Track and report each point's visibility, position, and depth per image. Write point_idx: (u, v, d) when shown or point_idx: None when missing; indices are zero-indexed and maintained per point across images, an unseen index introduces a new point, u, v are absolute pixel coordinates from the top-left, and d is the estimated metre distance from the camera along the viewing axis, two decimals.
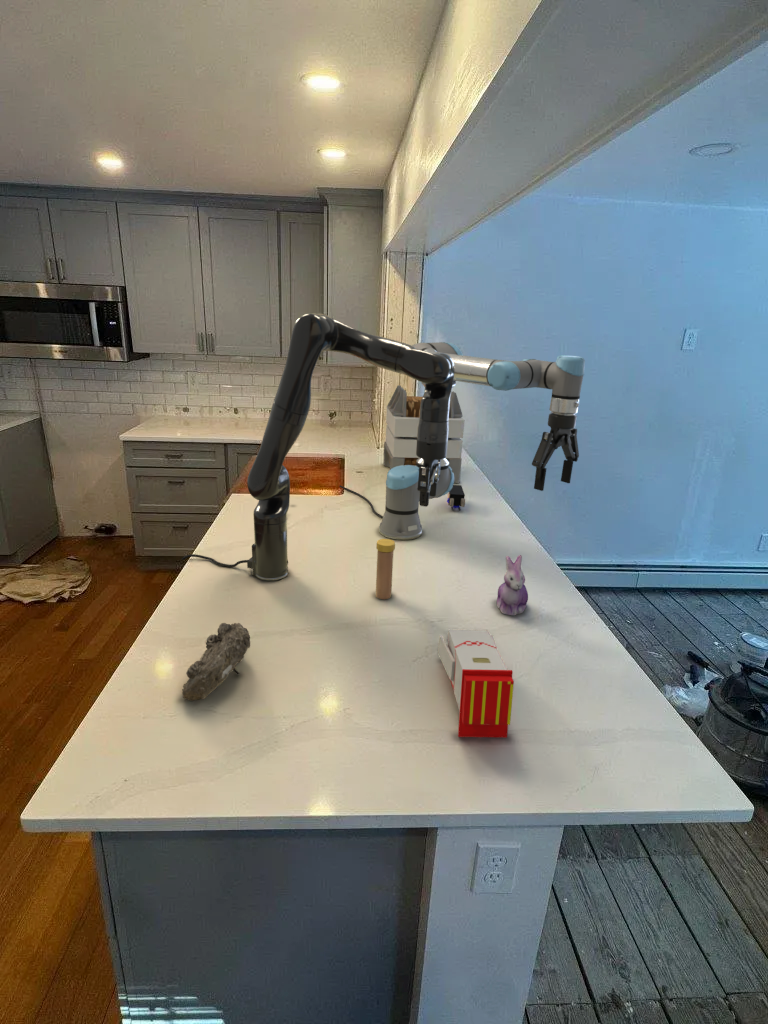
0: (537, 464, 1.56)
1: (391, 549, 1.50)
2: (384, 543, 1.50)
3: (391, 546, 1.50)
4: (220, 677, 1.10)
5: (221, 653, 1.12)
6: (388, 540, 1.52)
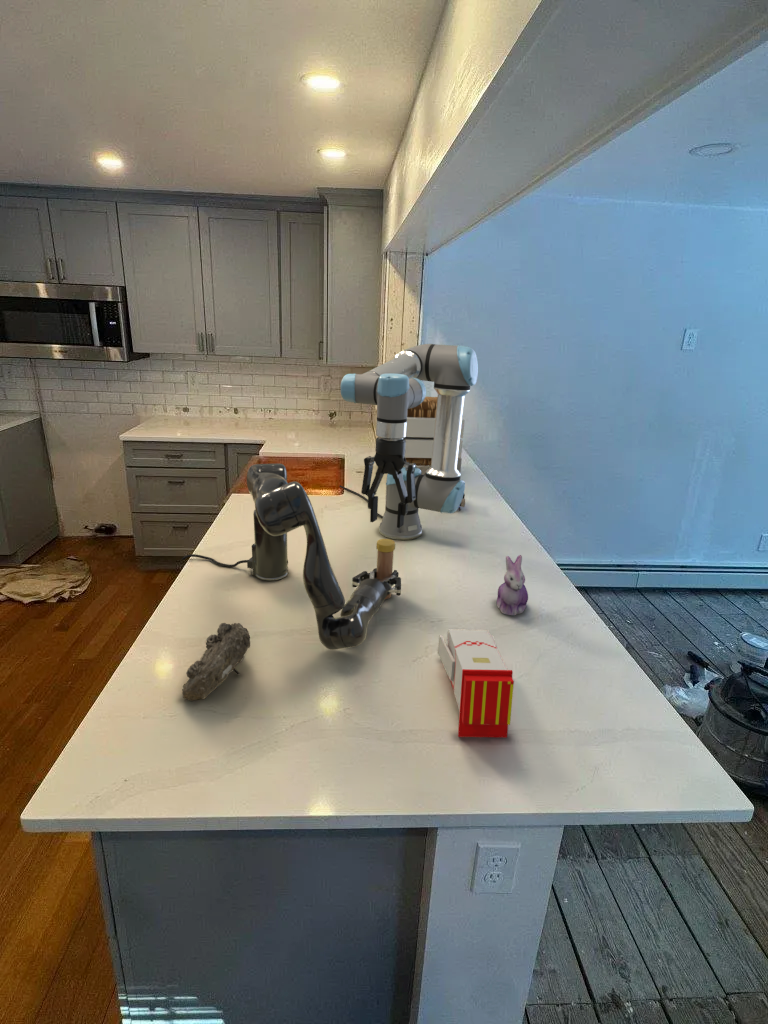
0: (414, 498, 1.44)
1: (391, 549, 1.50)
2: (384, 543, 1.50)
3: (391, 546, 1.50)
4: (220, 677, 1.10)
5: (221, 653, 1.12)
6: (388, 540, 1.52)
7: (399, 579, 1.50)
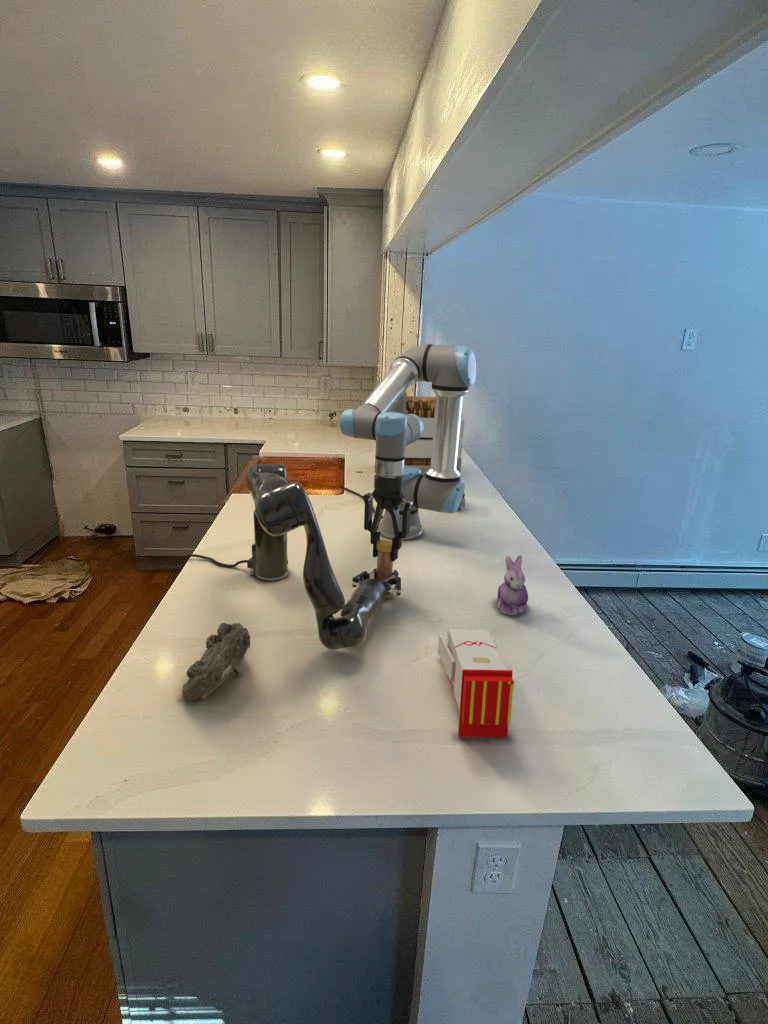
0: (408, 533, 1.48)
1: (391, 549, 1.50)
2: (384, 543, 1.50)
3: (391, 546, 1.50)
4: (220, 677, 1.10)
5: (221, 653, 1.12)
6: (388, 540, 1.52)
7: (399, 579, 1.50)
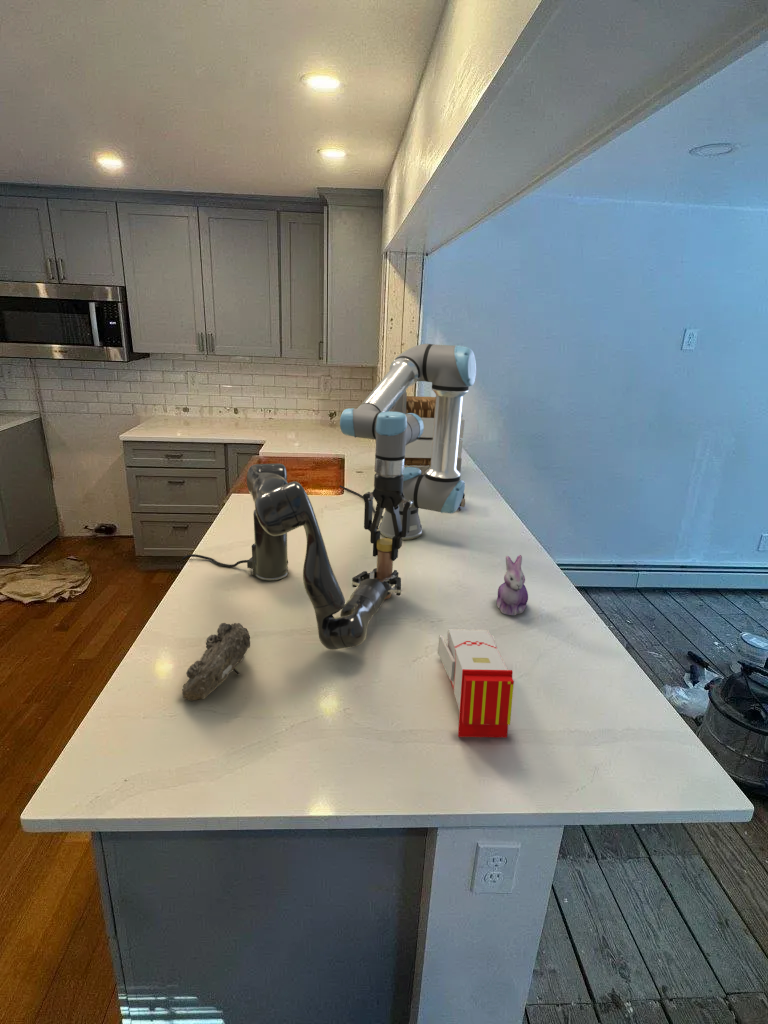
0: (408, 532, 1.48)
1: None
2: (389, 542, 1.51)
3: None
4: (220, 677, 1.10)
5: (221, 653, 1.12)
6: (381, 540, 1.52)
7: (398, 579, 1.50)
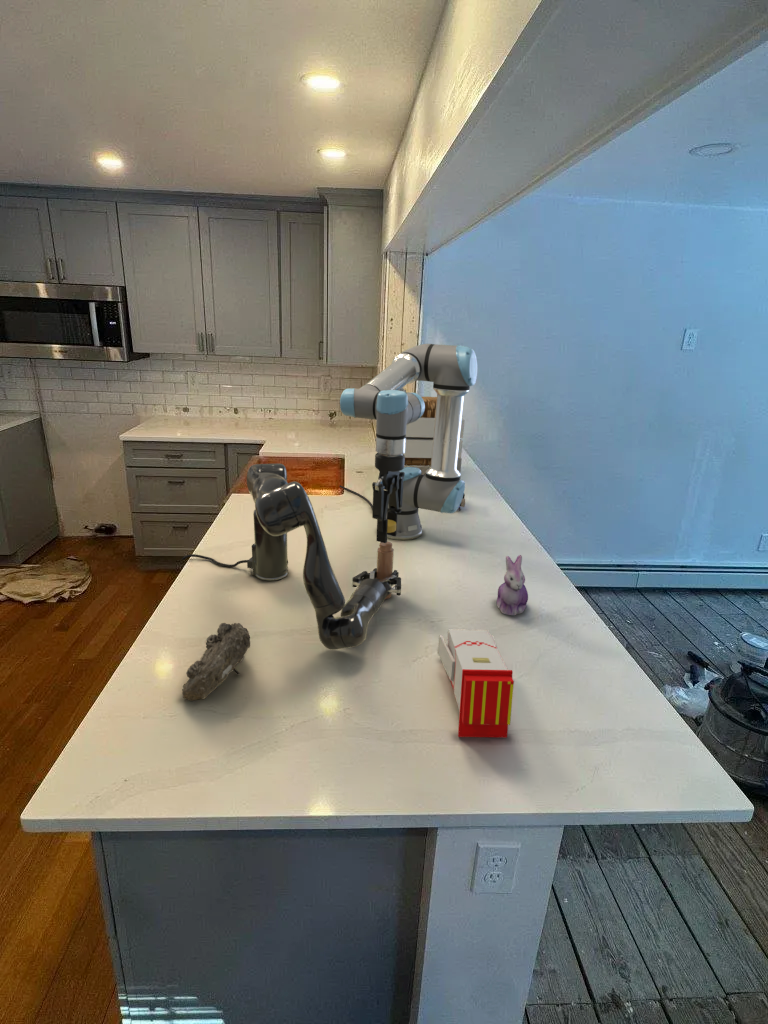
0: None
1: None
2: (389, 521, 1.50)
3: None
4: (220, 677, 1.10)
5: (221, 653, 1.12)
6: None
7: (399, 579, 1.50)
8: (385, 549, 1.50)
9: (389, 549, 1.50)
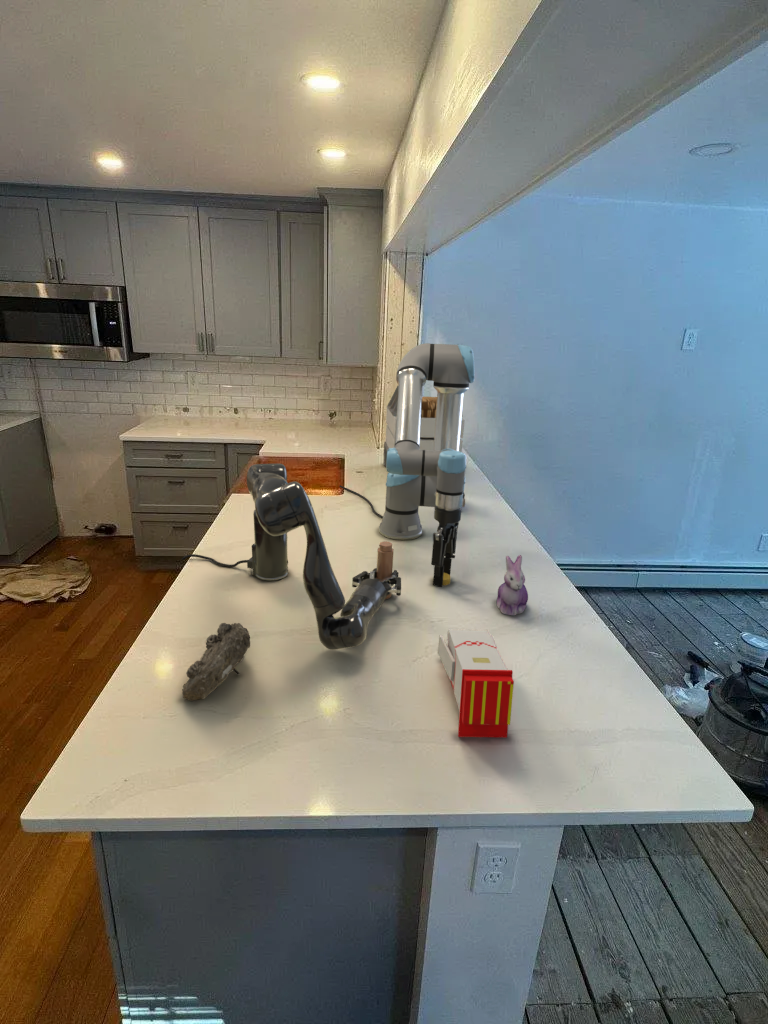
0: None
1: None
2: None
3: None
4: (220, 677, 1.10)
5: (221, 653, 1.12)
6: None
7: (399, 579, 1.50)
8: (385, 549, 1.50)
9: (389, 549, 1.50)
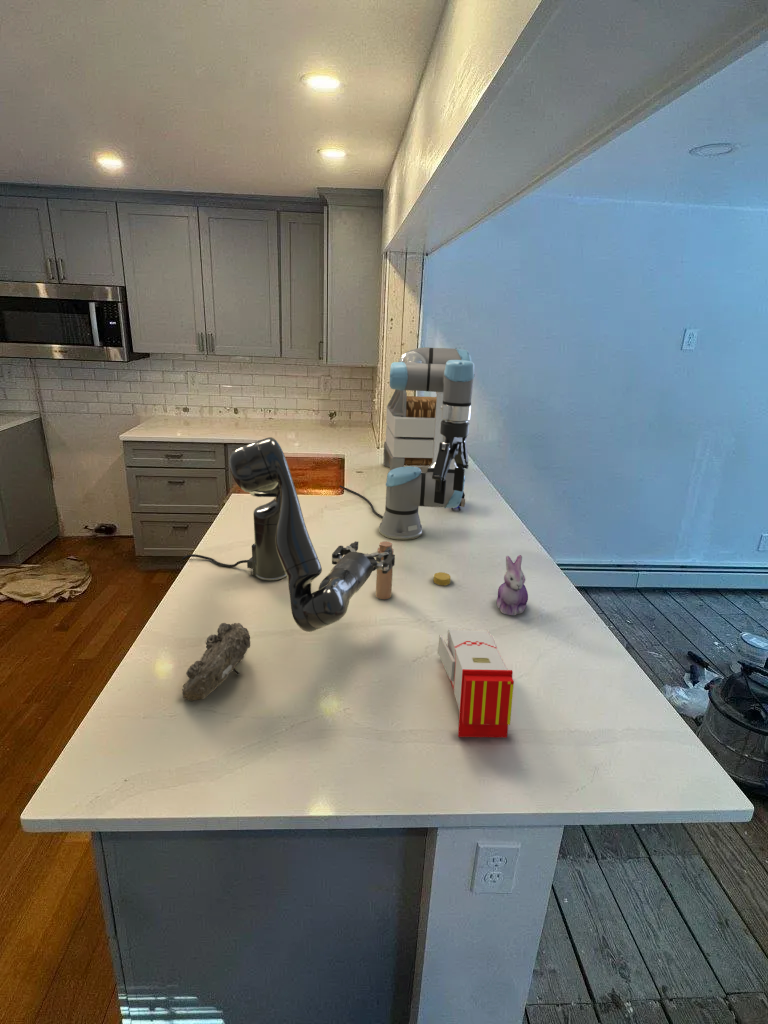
0: None
1: None
2: (443, 574, 1.66)
3: None
4: (220, 677, 1.10)
5: (221, 653, 1.12)
6: (439, 577, 1.64)
7: (391, 556, 1.33)
8: (385, 549, 1.50)
9: None
